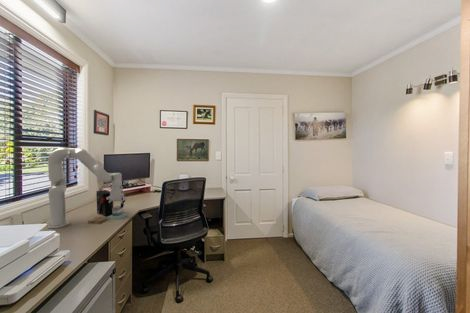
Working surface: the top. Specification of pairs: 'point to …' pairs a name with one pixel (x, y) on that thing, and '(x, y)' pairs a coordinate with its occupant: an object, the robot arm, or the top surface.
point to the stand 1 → (98, 220)
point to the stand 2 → (117, 216)
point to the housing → (116, 211)
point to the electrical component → (103, 203)
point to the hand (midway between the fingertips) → (116, 207)
